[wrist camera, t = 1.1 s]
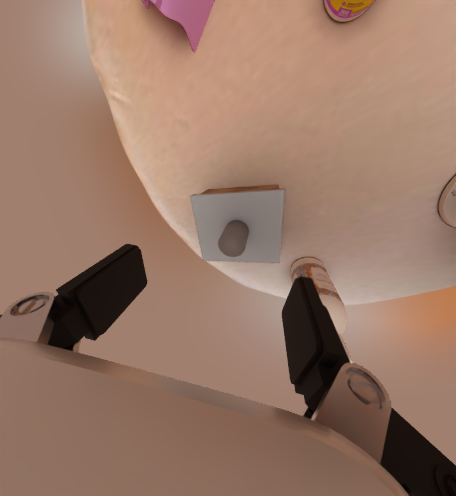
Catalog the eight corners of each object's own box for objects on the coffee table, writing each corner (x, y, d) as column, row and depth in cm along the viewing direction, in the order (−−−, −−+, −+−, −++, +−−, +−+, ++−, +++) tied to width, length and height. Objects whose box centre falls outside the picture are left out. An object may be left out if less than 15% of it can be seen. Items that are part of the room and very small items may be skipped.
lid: (283, 188, 23) (288, 197, 18) (279, 260, 29) (281, 281, 24) (192, 194, 27) (175, 203, 22) (204, 257, 33) (193, 276, 28)
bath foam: (329, 263, 35) (389, 363, 18) (312, 284, 39) (347, 384, 22) (299, 251, 35) (331, 340, 18) (284, 274, 39) (299, 366, 22)
